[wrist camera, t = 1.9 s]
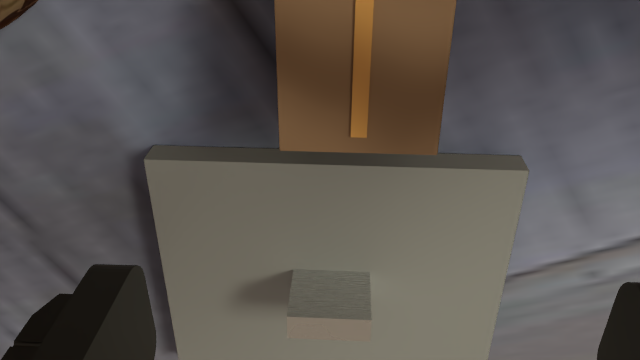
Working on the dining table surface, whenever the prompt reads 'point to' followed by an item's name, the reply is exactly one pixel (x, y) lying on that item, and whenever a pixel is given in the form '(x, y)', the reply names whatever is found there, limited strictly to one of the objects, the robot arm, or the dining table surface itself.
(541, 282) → the dining table surface
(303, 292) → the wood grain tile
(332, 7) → the cardboard box
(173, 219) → the base plate
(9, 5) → the coffee cup
